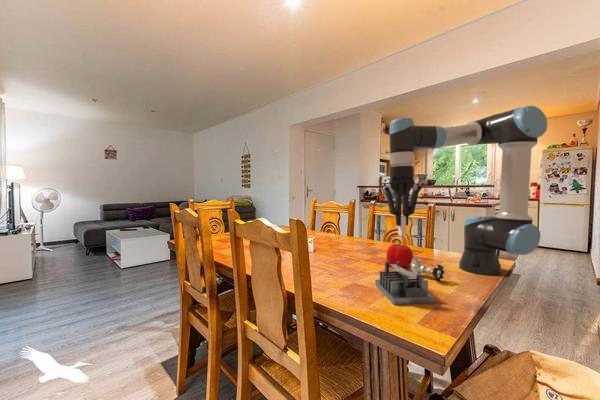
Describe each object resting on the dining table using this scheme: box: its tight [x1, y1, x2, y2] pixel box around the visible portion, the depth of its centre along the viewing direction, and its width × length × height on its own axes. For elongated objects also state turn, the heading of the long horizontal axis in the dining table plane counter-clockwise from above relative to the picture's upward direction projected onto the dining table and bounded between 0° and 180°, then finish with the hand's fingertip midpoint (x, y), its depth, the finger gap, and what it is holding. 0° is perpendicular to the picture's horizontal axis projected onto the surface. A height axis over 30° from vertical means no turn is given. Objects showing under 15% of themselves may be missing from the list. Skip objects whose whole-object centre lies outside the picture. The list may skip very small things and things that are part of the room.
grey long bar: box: [389, 264, 417, 279], centre depth 95 cm, size 16×3×2 cm, turn 3°
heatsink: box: [374, 260, 436, 306], centre depth 95 cm, size 18×13×8 cm
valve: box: [410, 257, 446, 283], centre depth 110 cm, size 7×7×12 cm
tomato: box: [385, 243, 414, 269], centre depth 126 cm, size 12×12×10 cm
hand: (402, 235), depth 95 cm, fingers closed
